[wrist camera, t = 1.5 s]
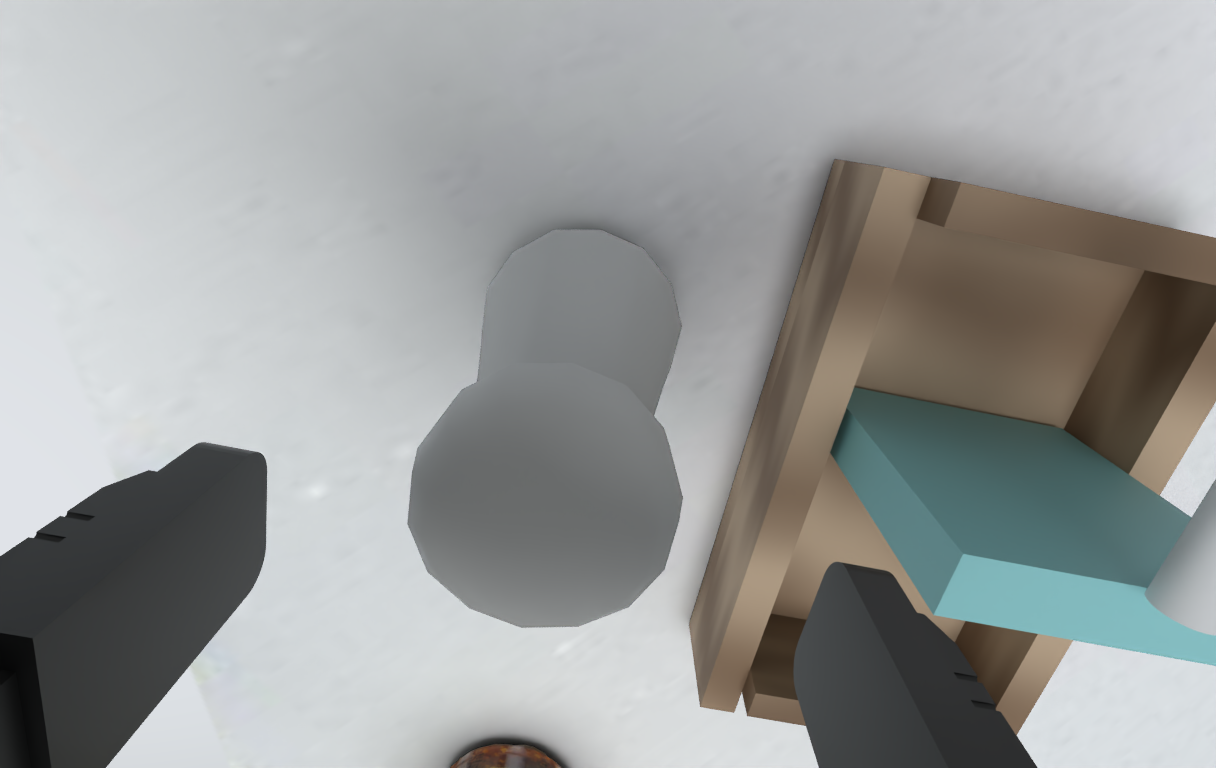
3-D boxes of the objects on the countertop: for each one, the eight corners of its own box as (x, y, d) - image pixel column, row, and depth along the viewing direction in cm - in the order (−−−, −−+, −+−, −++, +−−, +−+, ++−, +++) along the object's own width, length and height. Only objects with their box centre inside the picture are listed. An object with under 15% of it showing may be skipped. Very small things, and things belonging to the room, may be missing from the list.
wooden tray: (834, 159, 20) (909, 171, 14) (1176, 233, 20) (1364, 270, 15) (688, 624, 26) (705, 745, 21) (950, 669, 27) (1027, 798, 22)
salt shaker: (625, 183, 20) (634, 275, 8) (702, 342, 22) (804, 614, 10) (463, 269, 21) (252, 466, 9) (549, 414, 23) (471, 738, 11)
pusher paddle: (893, 190, 19) (1173, 258, 9) (1154, 247, 19) (1678, 367, 10) (811, 423, 21) (962, 661, 12) (1041, 468, 22) (1364, 731, 12)
